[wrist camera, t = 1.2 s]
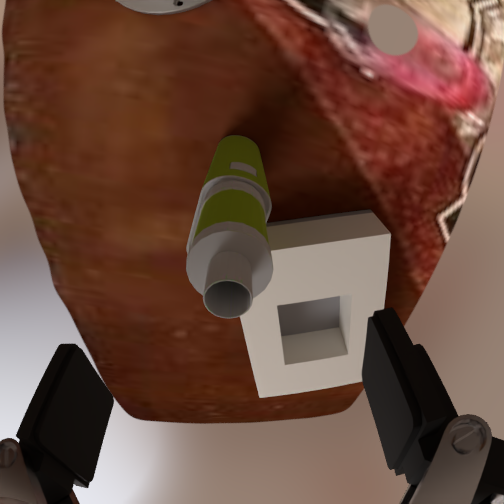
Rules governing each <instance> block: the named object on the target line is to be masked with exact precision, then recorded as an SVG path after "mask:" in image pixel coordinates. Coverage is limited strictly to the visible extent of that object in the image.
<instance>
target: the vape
mask: <svg viewBox="0 0 504 504" xmlns="http://www.w3.org/2000/svg"><path fill="white" fill-rule="evenodd" d="M271 208H272V204H271V199H270V195H269V190H268V186H267V181H266V177H265V173H264V168H263V164H262V160H261V155H260V151H259V148H258V146H257V145H256V144H255V143H254V142H253V141H252V140H250V139H249V138H246V137H244V136H239V135H231V136H227V137H225V138H223V139H222V140H221V141H220V142H219V145H218V147H217V150H216V152H215V155H214V158H213V160H212V163H211V166H210V169H209V171H208V174H207V177H206V180H205V182H204V185H203V188H202V191H201V194H200V198H199V201H198V205H197V209H196V212H195V216H194V220H193V224H192V228H191V231H190V235H189V239H188V243H187V253H188V256H187V266H186V271H187V274H188V277H189V280H190V282H191V283H192V285H193V286H194V288H195V289H196V290H197V291H198V292H199V293H201V294H202V295H203V301H204V304H205V306H206V308H207V309H208V310H209V311H210V312H211V313H213V314H214V315H216V316H219V317H221V318H236V317H239V316H241V315H243V314H245V313H246V312H247V311H248V310H249V309H250V307H251V306H252V302H253V298H255V297H256V296H258V295H259V294H260V293H261V292H263V291H264V290H265V289H266V287H267V285H268V284H269V282H270V281H271V278H272V274H273V261H272V254H271V248H270V246H269V241H268V235H267V228H266V223H267V220H268V217H269V215H270V212H271Z"/></svg>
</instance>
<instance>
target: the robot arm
mask: <svg viewBox="0 0 504 504" xmlns="http://www.w3.org/2000/svg"><path fill="white" fill-rule="evenodd" d="M116 1H117V2H119V3H121V4H122V5H124V6H125V7H127V8H129V9H131V10H134V11H137V12H141V13H144V14H154V15H164V14H175V13H180V12H185V11H188V10H191V9H194V8H197V7H200V6H201V5H203V4H205V3H207V2H209V1H211V0H116ZM179 2H183V5H182V6H178V3H179ZM362 382H363V385H364V388H365V391H366V394H367V397H368V401H369V404H370V407H371V410H372V414H373V417H374V420H375V423H376V426H377V430H378V434H379V437H380V441H381V444H382V447H383V451H384V454H385V458H386V462H387V465H388V468H389V469H390V470H392V469H395V473H396V476H397V475H401V474H404V473H405V476H406V480H407V483H409V486H408V488H407V490H406V492H405V494H404V496H403V497H402V499H401V501H400V503H399V504H504V440H501V439H498V438H495V437H492V434H491V429H490V427H489V426H488V424H487V422H485V421H484V420H483V419H482V418H480V417H478V416H476V415H470V414H467V415H461V416H458V414H457V412H456V410H455V408H454V406H453V404H452V402H451V399H450V397H449V395H448V393H447V391H446V389H445V387H444V385H443V383H442V381H441V379H440V377H439V375H438V373H437V371H436V369H435V367H434V365H433V363H432V362H431V360H430V358H429V356H428V354H427V353H426V351H425V349H424V347H423V346H422V345H420V344H416V345H413V343H412V341H411V339H410V338H409V336H408V334H407V332H406V330H405V328H404V326H403V324H402V323H401V321H400V319H399V317H398V315H397V314H396V312H395V310H394V309H393V308H387V309H382V310H377V311H374V313H373V316H371V317H368V323H367V333H366V342H365V350H364V358H363V366H362ZM113 404H114V399H113V396H112V394H111V393H110V391H109V390H108V388H107V387H106V385H105V384H104V382H103V381H102V380H101V378H100V377H99V375H98V374H97V372H96V371H95V369H94V368H93V366H92V365H91V363H90V361H89V360H88V358H87V357H86V355H85V353H84V352H83V350H82V349H81V348H79V347H78V346H77V345H76V344H60V345H59V346H58V348H57V350H56V352H55V354H54V356H53V357H52V359H51V361H50V363H49V365H48V367H47V369H46V371H45V373H44V375H43V377H42V379H41V381H40V383H39V385H38V387H37V389H36V392H35V394H34V396H33V398H32V400H31V402H30V404H29V407H28V409H27V411H26V413H25V416H24V418H23V420H22V422H21V425H20V427H19V429H18V432H17V434H16V437H17V438H19V439H20V441H19V443H18V442H17V441H16V440H14V439H12V438H7V439H3V440H2V441H0V504H79V501H78V500H77V497H76V495H75V493H74V491H73V489H72V488H73V484H75V485H76V486H81V487H85V488H88V486H89V483H90V482H91V481H92V480H93V477H94V473H95V470H96V465H97V461H98V457H99V453H100V450H101V446H102V443H103V439H104V435H105V432H106V428H107V425H108V421H109V417H110V414H111V410H112V407H113Z"/></svg>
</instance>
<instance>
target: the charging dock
mask: <svg viewBox="0 0 504 504" xmlns="http://www.w3.org/2000/svg"><path fill="white" fill-rule="evenodd" d="M266 228H267V235H268V241H269V246H270V248H271V254H272V261H273V274H272V278H271V281H270V282H269V284H268V285H267V287H266V289H265V290H264V291H263V292H261V293H260V294H259V295H258V296H256V297H255V298H253V302H252V306H251V307H250V309H249V310H248V311H247V312H246V313H245V314H243V315H241V316H240V318H241V323H242V327H243V331H244V335H245V340H246V344H247V348H248V352H249V356H250V361H251V365H252V369H253V373H254V377H255V381H256V385H257V389H258V393H259V397H260V398H262V397H271V396H279V395H286V394H293V393H300V392H307V391H313V390H319V389H325V388H330V387H336V386H341V385H346V384H351V383H356V382H361V381H362V366H363V358H364V350H365V342H366V333H367V323H368V317H371V316H373V313H374V311H377V310H382V309H384V304H385V295H386V286H387V277H388V266H389V254H390V239H391V233H390V232H389V231H388V229H387V228H386V227H385V226H384V225H383V224H382V222H381V221H380V220H379V219H378V218H377V216H376V215H375V214H374V213H373V212H372V211H371V210H370V209H369V210H361V211H353V212H345V213H337V214H330V215H322V216H315V217H307V218H300V219H293V220H286V221H279V222H272V223H266Z"/></svg>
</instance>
